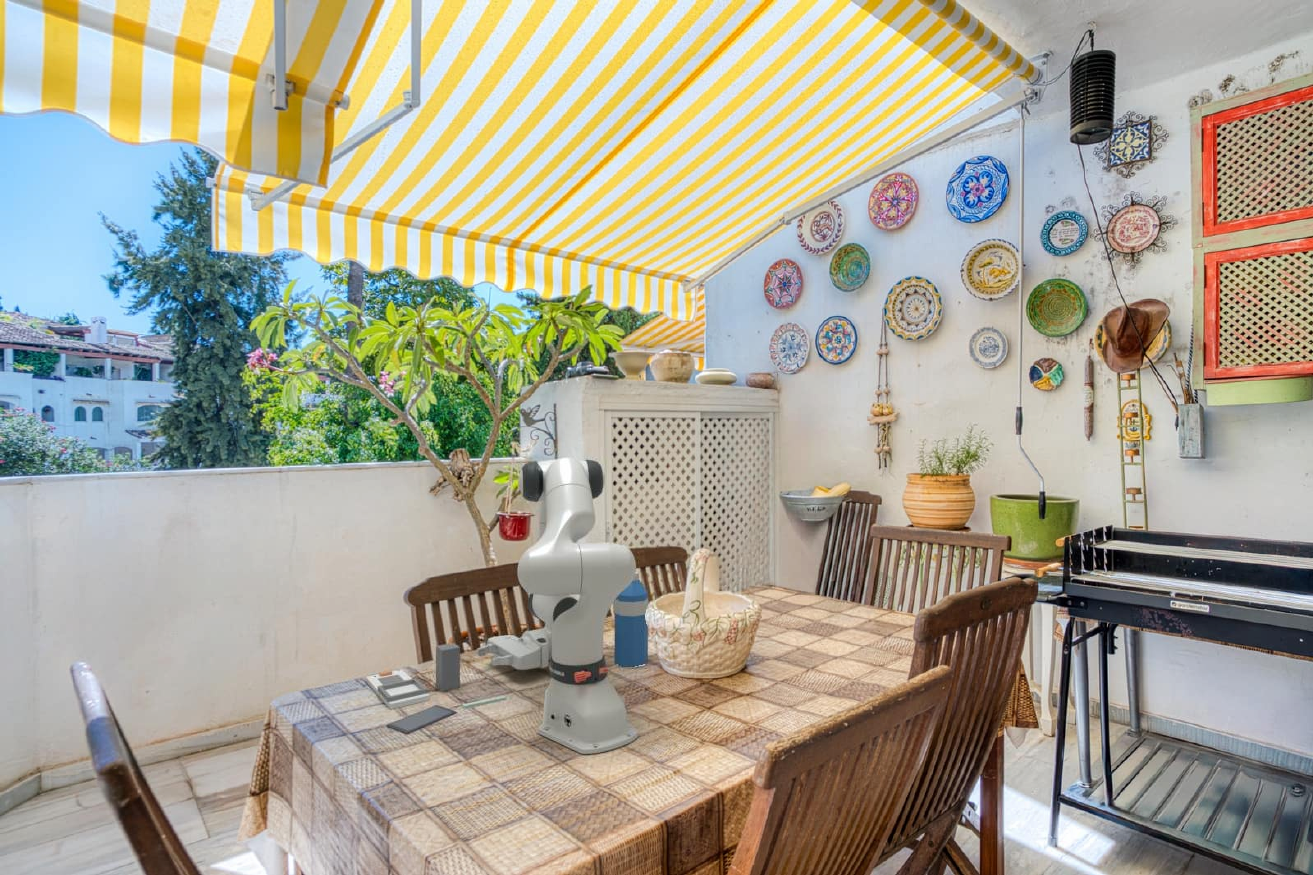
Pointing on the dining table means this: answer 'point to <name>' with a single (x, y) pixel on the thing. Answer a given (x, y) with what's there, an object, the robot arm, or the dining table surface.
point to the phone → (421, 719)
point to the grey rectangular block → (447, 666)
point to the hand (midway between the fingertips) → (484, 657)
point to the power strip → (398, 688)
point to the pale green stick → (483, 702)
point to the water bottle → (631, 625)
